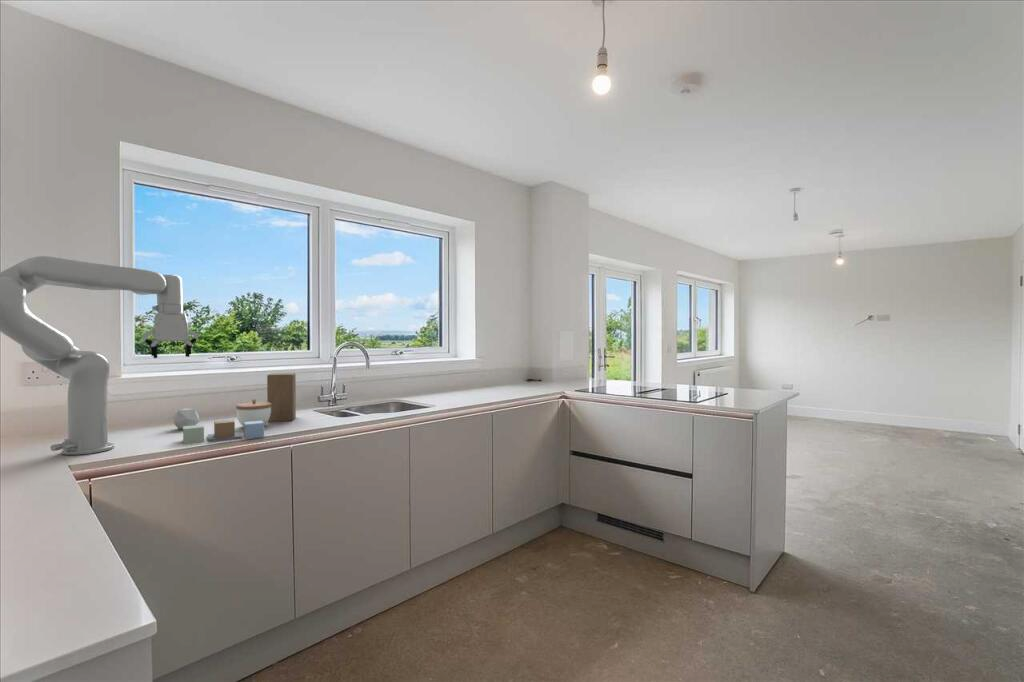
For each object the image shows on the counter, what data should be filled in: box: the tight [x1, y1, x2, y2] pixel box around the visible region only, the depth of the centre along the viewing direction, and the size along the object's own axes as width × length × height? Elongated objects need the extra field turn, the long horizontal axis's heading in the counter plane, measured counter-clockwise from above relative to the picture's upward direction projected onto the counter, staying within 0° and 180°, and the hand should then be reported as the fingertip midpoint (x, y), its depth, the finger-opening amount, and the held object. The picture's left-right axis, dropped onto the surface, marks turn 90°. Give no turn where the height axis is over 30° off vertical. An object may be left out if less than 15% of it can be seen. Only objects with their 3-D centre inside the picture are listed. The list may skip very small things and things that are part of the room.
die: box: [172, 407, 200, 430], centre depth 193 cm, size 8×9×10 cm
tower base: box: [207, 418, 242, 442], centre depth 177 cm, size 10×10×6 cm
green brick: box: [182, 424, 205, 444], centre depth 172 cm, size 6×6×5 cm
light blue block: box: [243, 420, 265, 439], centre depth 181 cm, size 6×6×5 cm
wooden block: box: [266, 372, 297, 423], centre depth 214 cm, size 10×10×20 cm
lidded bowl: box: [235, 398, 272, 427], centre depth 198 cm, size 13×13×11 cm
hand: (171, 357), depth 177 cm, fingers open, 9 cm apart
